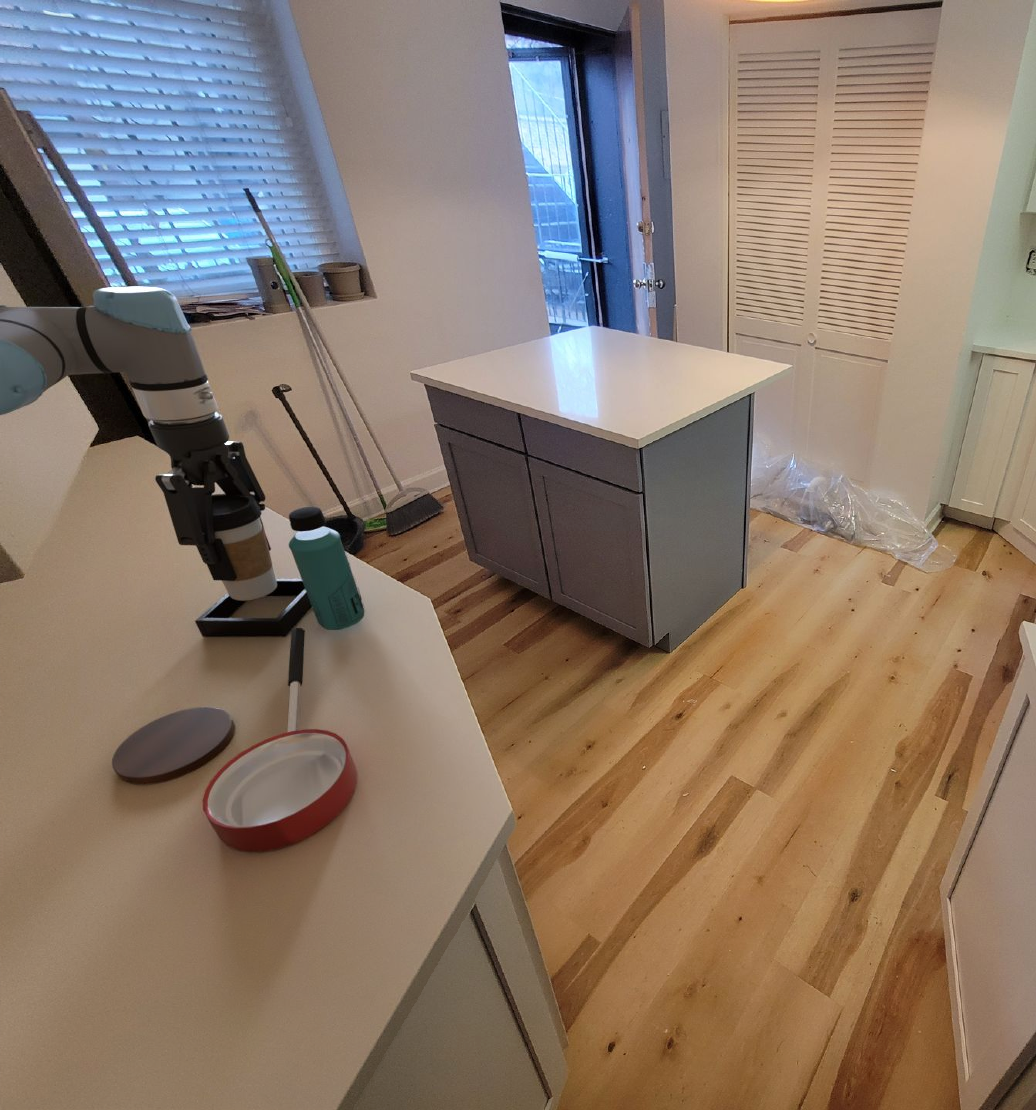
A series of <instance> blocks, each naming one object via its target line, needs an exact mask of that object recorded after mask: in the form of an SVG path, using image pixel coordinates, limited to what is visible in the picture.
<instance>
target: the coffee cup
mask: <svg viewBox="0 0 1036 1110" xmlns="http://www.w3.org/2000/svg"><path fill="white" fill-rule="evenodd" d="M212 505H213V518H214V529H215V539H221V540H222V542H223V544H224V547H225V549H226V552H227V554H228V557H229V559H230V561H231V564H232V566H233V569H234V571H235V574H236V576H237V579H235V580H234V581H221V582H222V585H223V586H224V588H225V590H226V591H227V593H229V595H230V597H231V598H233V599H235V600H241V601H245V600H248V601H253V600H257V599H261V598H263V597H267V596H266V595H268V594H270V593H271V592H273V591H274V590H275V589H276V587H277V581H276V579H277V578H276V574H275V570H274V567H273V561H272V556H271V552H270V551H269V547H268V543H267V539H268V538H267V539H266V537H267V534H266V531H265V525H264V523H263V524H261V521H260V517H261V516H262V514H263V513H262V511H261V510H260V507H259V506H258V505H257V504H256V502H255V500H254V499H253V498H252V497H251V496H248V495H228V494H225V493H215V494H214V493H213V494H212ZM203 534H204V533H203Z"/></svg>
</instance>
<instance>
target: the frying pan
mask: <svg viewBox="0 0 1036 1110" xmlns="http://www.w3.org/2000/svg"><path fill="white" fill-rule="evenodd" d="M305 635H306V630H305V629H304V628H302V627H294V628H293V629H292V630H291V631H290V644H289V645H290V646H289V659H288V660H289V662H288V675H287V686H288V687H289V695H288V710H287V711H288V712H287V727H286V732H284V733H283V732H282V733H280V734H277V735H274V736H272V737H268V738H266V739H264V740H262V741H260V742H257V743H255V744H253V745H251V746H250V747H248V748H246V749H245V750H243V751H241V752H240V753H238V754H237V755H235V756H234V757H232V758H231V759H230V760H229V761H228V762H227V763H225V764H224V765H223V766H222V767H221V768H220V769H219V770H218V771H217V772H216V773H215V775H214V776H213V777H212V779H210V781H209V783H208V784H207V786H206V787H205V790H204V793H203V797H202V799H201V800H202V801H201V802H202V810H203V813H204V815H205V817H206V819H207V820H208V822H209V823H210V825H211V827H212V828H213V830H214V832H215V833H216V835H217V836H218V838H219V840H220V841H221V842H222V843H223V844H224V845H226V846H227V847H229V848H231V849H234V850H237V851H240V852H246V853H260V852H261V853H263V852H269V851H273V850H278V849H283V848H284V847H285V848H286V847H288V846H290V845H291V846H292V845H294V844H296V843H299V842H300V841H303V840H305V839H307V838H308V837H310V836H312V835H313V834H315V833H317V832H318V831H320V830H321V829H322V828H324V827H325V826H327V825H328V824H330V823H331V822H332V821H333V820H334V819H335V818H336V817H338V815H339V814H340V813H341V812H342V811H343V810H344V808H346V806H347V804H349V802H350V801H351V798H352V797H353V795H354V793H355V790H356V787H357V784H358V771H357V767H356V765H355V762H354V759H353V757H352V754H351V752H350V749H349V747H348V744H347V742H346V741H345V740H344V738H343V737H341V735H338V734H337V733H335V732H332V731H330V730H327V729H318V728H310V729H309V728H304V729H299V718H300V701H301V698H300V697H301V687H302V686H303V683H304V663H305V661H304V660H305V639H306V638H305V637H306V636H305Z"/></svg>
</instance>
